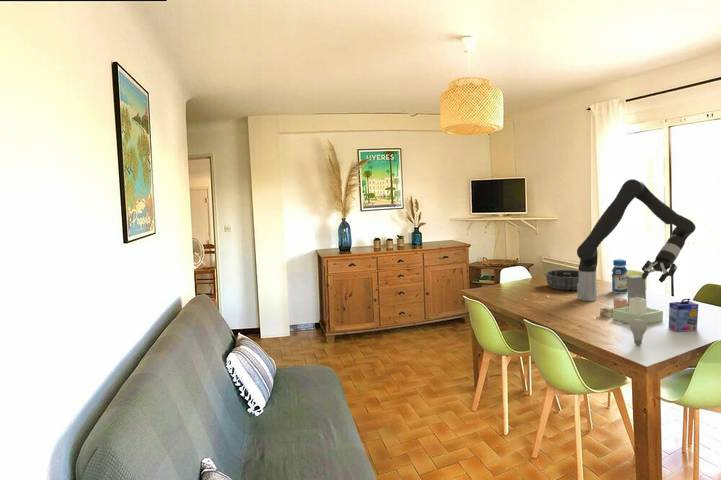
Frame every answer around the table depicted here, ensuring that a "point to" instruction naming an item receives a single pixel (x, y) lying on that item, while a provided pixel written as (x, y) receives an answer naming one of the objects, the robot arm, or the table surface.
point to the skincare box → (636, 287)
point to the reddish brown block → (620, 303)
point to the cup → (637, 306)
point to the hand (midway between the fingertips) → (651, 279)
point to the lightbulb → (638, 330)
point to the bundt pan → (563, 279)
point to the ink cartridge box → (683, 316)
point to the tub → (648, 318)
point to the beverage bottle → (619, 276)
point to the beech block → (606, 312)
